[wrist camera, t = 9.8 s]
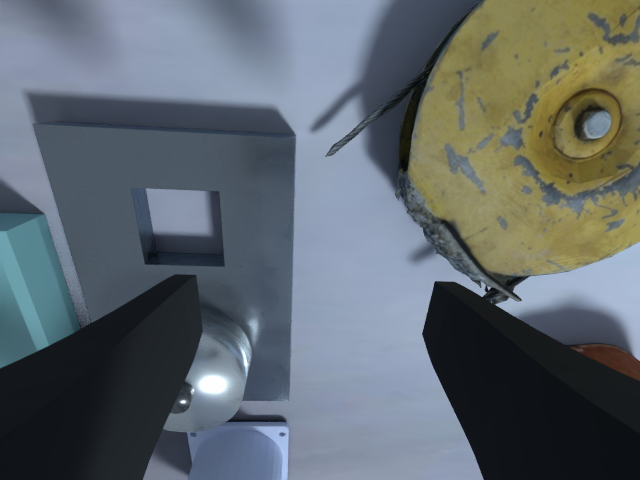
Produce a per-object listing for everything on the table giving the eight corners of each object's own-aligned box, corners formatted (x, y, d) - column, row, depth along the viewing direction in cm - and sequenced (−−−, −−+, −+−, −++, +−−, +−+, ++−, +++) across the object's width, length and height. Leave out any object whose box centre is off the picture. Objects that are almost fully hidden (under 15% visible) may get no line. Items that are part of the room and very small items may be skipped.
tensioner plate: (289, 383, 24) (285, 455, 19) (126, 382, 23) (78, 457, 18) (296, 135, 16) (291, 149, 12) (56, 121, 16) (-54, 131, 11)
